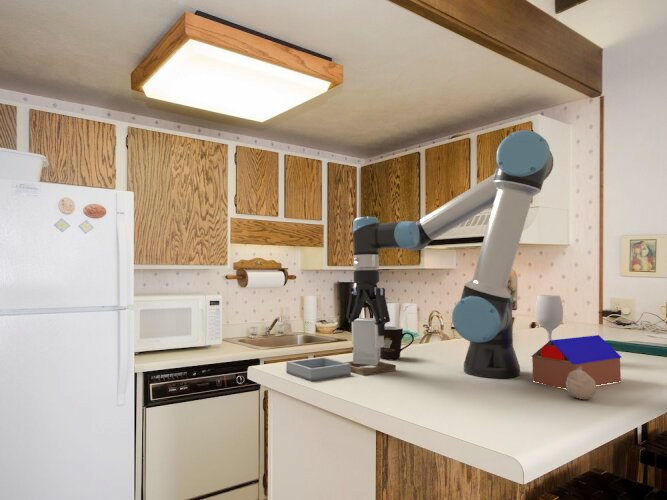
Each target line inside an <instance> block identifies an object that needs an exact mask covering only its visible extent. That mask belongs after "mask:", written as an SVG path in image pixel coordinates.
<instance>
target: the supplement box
mask: <svg viewBox="0 0 667 500" xmlns="http://www.w3.org/2000/svg"><path fill="white" fill-rule="evenodd" d="M375 323H376V320H375V317H373V318H372V317H370V318H368V317H359V318H357V319H356V320H354V340H353V349H352V350H353V352H352V361H353V363H354V364H366V365H365V366H368V365H369V366H372V365H378V362H379V361H380V362H381V358H380V348H375Z"/></svg>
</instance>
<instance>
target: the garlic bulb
mask: <svg viewBox="0 0 667 500" xmlns="http://www.w3.org/2000/svg"><path fill="white" fill-rule="evenodd" d="M565 383H566V388H567V390H566V391H567V393H568V394H569V395H570V396H572V397H573V398H575V397H576V398H575V399H578V398H579V400H581V399H587V400H589V399H591V398H592V397H593V396H594V395H595V394H596V391H597V387H596V382H595V380H594V379H593V378H591V377H590V376H589V375H588V374H587V373H586V372H584V371H582V367H581V365H580V366H579V367H577V368H576V370H574V371H572V372H570V373H569V374H568V378H567V379H566V382H565Z"/></svg>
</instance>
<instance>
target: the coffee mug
mask: <svg viewBox="0 0 667 500" xmlns="http://www.w3.org/2000/svg"><path fill="white" fill-rule="evenodd" d="M403 331H404V327H402V326H387V325H386V326H385V335H384V347H381V348H380V360H385V361H396V360H397V359H398V360H400V359H401V352H402V351H403V350H404V349H406V348H408V347H409V346H411V345H412V344H413V342H414V340H415V338H414V334H413V333H411V332H408V331H406V332H404V333H403ZM405 335H409V336H410V337H411V341H410V342H409V343H408V344H407V345H405V346H403V347H402V340H403V339H404V336H405Z"/></svg>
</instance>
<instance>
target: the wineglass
mask: <svg viewBox="0 0 667 500" xmlns="http://www.w3.org/2000/svg"><path fill="white" fill-rule="evenodd" d="M534 308H535V309H534V310H535V311H534V314H535V315H534V316H535V320H536V322H537V323H538V325H539V326H540V327H542V328H543V329H545V330H546V334H547V343H548V342H549V341H550V340H552V334H553V331H554V330H555V329H556V328H558V327H559V326H560V325H561V324H562V322H563V319H564V307H563V302H562V298H561V295H559V294H538V295H537V297H536V301H535V307H534Z"/></svg>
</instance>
